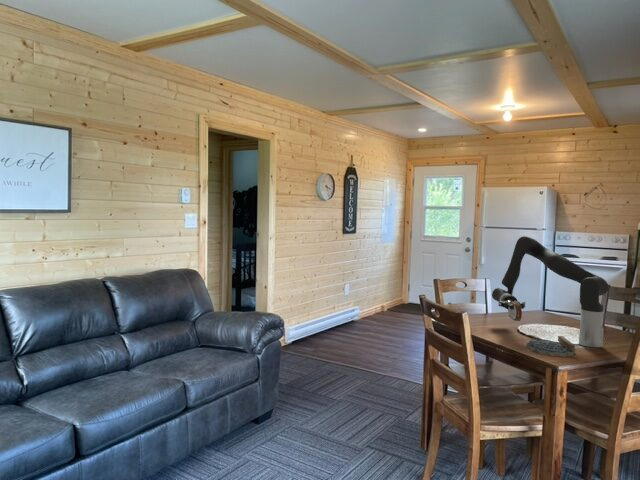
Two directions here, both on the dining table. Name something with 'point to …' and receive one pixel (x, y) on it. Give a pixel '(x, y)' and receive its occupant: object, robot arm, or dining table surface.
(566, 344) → the walnut stop strip
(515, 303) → the tin
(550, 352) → the decorative tile
